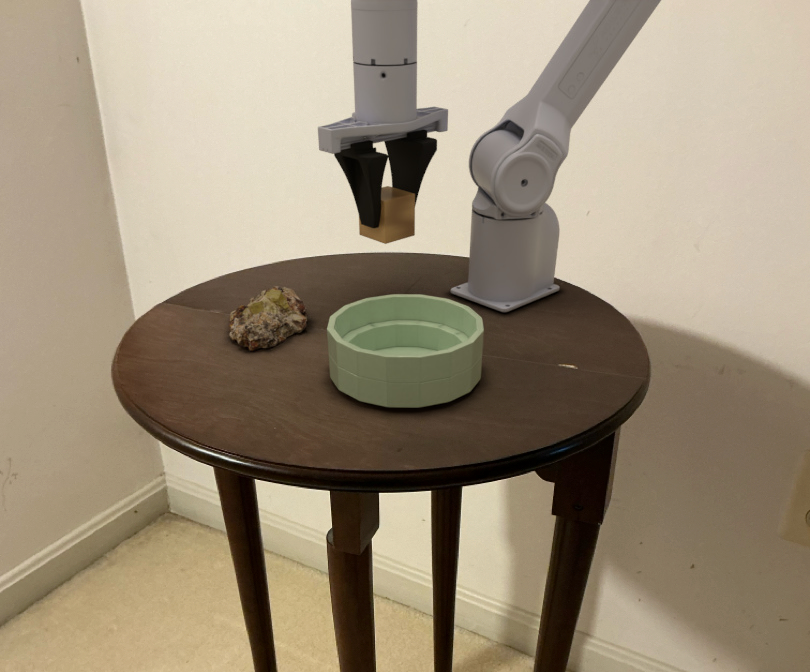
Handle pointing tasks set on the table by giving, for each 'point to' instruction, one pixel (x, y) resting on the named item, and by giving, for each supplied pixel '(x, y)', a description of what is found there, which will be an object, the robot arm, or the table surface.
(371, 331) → the bowl
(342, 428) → the table surface
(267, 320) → the mineral rock
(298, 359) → the table surface
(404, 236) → the block
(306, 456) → the table surface
